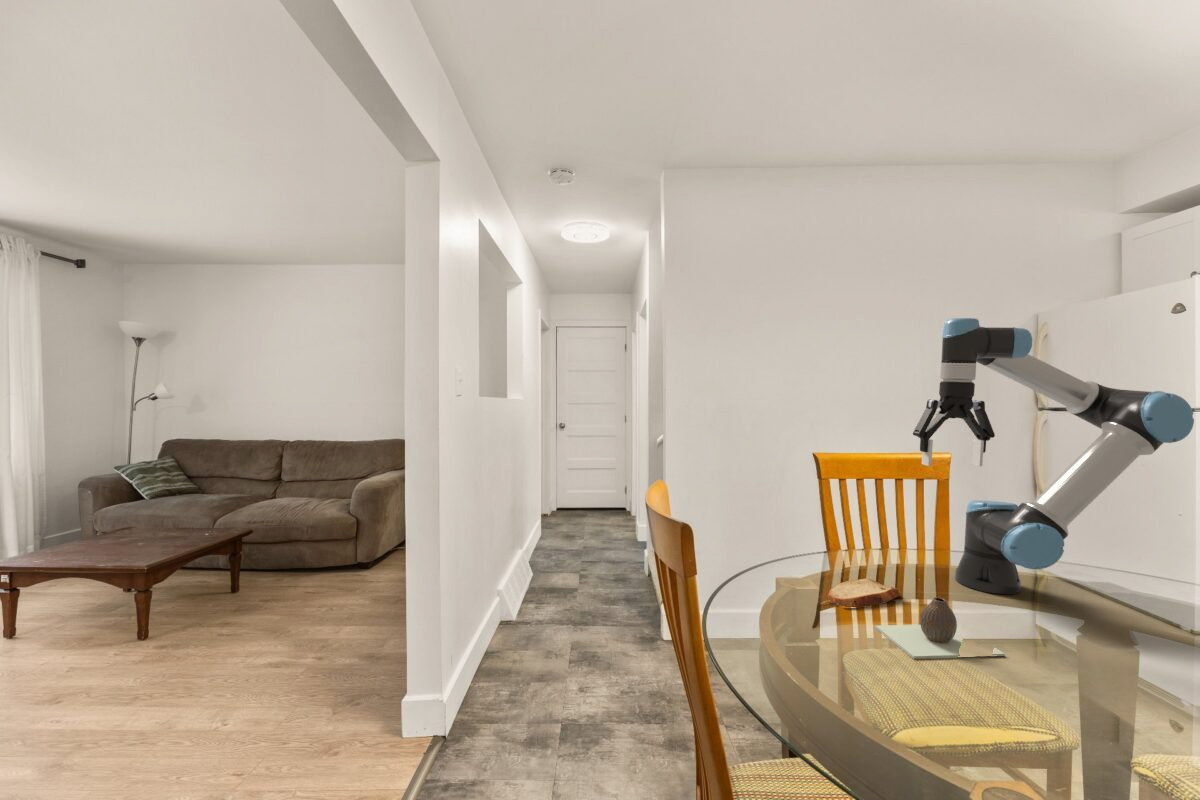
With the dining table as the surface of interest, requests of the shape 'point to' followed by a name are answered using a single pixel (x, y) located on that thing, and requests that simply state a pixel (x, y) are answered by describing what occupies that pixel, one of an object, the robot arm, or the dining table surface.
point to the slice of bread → (861, 593)
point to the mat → (923, 642)
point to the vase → (938, 621)
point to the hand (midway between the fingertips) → (951, 465)
